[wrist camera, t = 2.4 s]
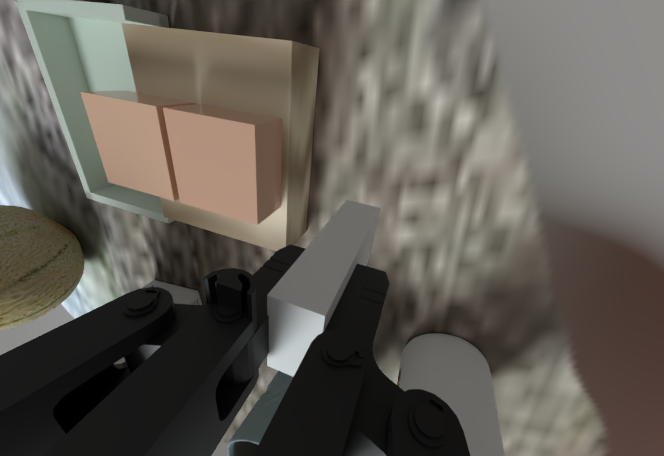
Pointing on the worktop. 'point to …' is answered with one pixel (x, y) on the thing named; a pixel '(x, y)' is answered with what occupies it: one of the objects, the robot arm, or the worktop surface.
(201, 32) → the board
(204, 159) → the tile
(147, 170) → the tile
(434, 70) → the worktop surface
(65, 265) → the cantaloupe
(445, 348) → the milk bottle
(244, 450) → the grey-blue hollow tapered cylinder
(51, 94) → the tray
